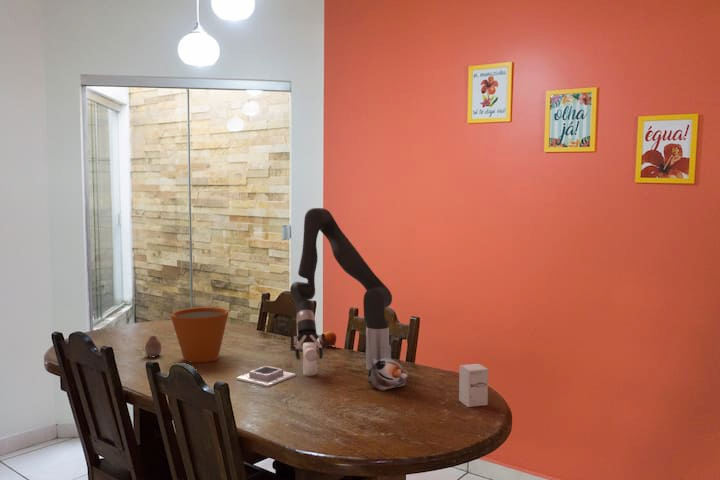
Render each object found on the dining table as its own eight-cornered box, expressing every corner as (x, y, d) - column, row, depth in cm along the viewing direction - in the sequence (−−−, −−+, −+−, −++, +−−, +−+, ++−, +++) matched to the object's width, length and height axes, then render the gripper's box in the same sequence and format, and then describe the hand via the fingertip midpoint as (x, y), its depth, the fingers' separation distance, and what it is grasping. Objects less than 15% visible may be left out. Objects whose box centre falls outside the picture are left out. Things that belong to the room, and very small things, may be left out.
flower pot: (160, 361, 257) (158, 315, 255) (199, 348, 278) (198, 305, 276) (203, 369, 246) (201, 320, 244) (240, 355, 267) (239, 310, 265)
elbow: (302, 372, 241) (302, 342, 240) (315, 371, 242) (315, 341, 241) (305, 378, 233) (304, 348, 232) (318, 378, 234) (318, 347, 233)
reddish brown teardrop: (164, 354, 268) (163, 334, 268) (157, 358, 261) (157, 338, 261) (149, 353, 269) (148, 334, 268) (142, 358, 262) (141, 338, 261)
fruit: (332, 346, 275) (325, 330, 276) (320, 353, 279) (314, 337, 281) (343, 343, 281) (336, 327, 283) (332, 349, 285) (325, 333, 287)
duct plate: (295, 375, 237) (295, 368, 237) (268, 386, 224) (268, 379, 223) (265, 369, 246) (264, 362, 245) (236, 379, 232) (236, 372, 232)
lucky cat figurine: (411, 382, 228) (416, 355, 220) (398, 404, 218) (403, 376, 211) (374, 367, 232) (379, 340, 225) (361, 387, 223) (364, 360, 216)
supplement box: (468, 408, 202) (468, 370, 200) (458, 400, 209) (458, 364, 208) (488, 405, 204) (488, 368, 203) (477, 398, 211) (478, 362, 210)
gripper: (289, 319, 244) (292, 354, 234) (324, 317, 247) (328, 352, 237) (288, 329, 250) (291, 364, 240) (322, 327, 253) (326, 362, 242)
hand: (309, 358), depth 238 cm, fingers open, 8 cm apart
